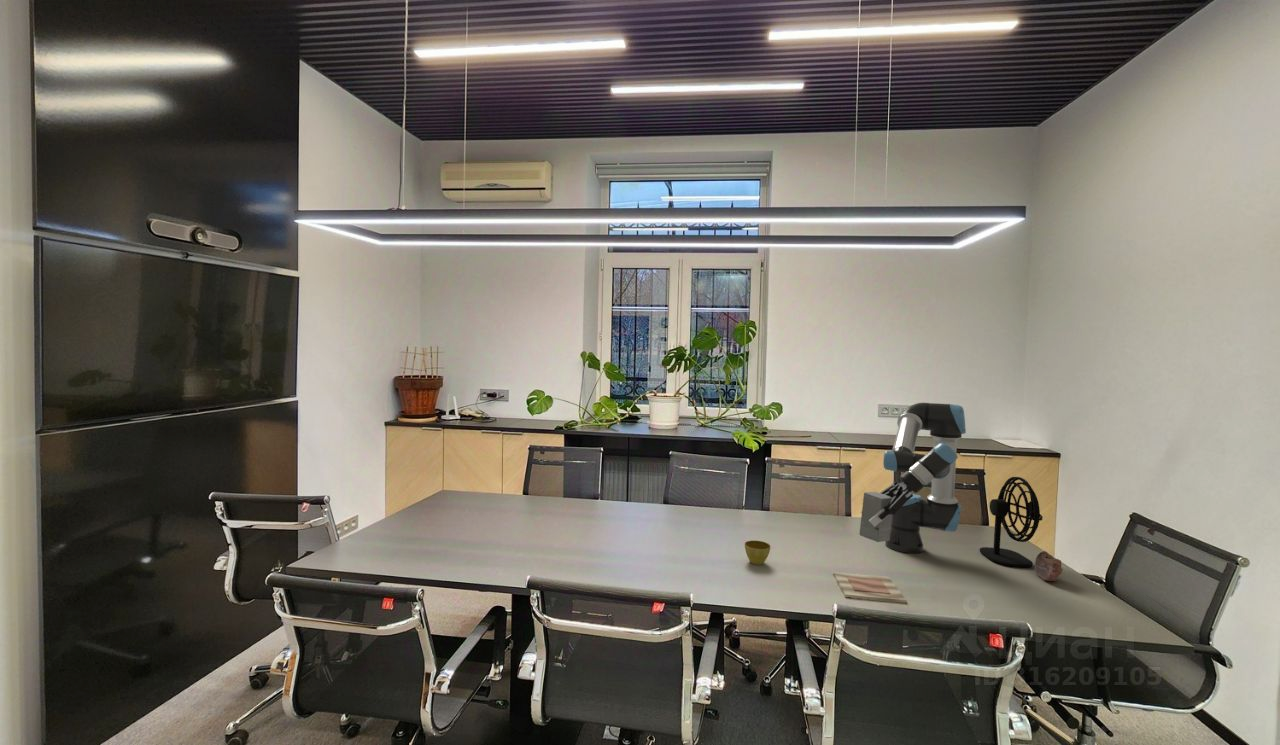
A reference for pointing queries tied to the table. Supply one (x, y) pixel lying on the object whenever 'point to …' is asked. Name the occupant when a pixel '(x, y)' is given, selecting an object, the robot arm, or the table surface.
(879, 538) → the skincare box
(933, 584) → the table surface
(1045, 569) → the stone
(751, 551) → the flower pot
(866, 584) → the seat board
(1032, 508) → the desk fan
